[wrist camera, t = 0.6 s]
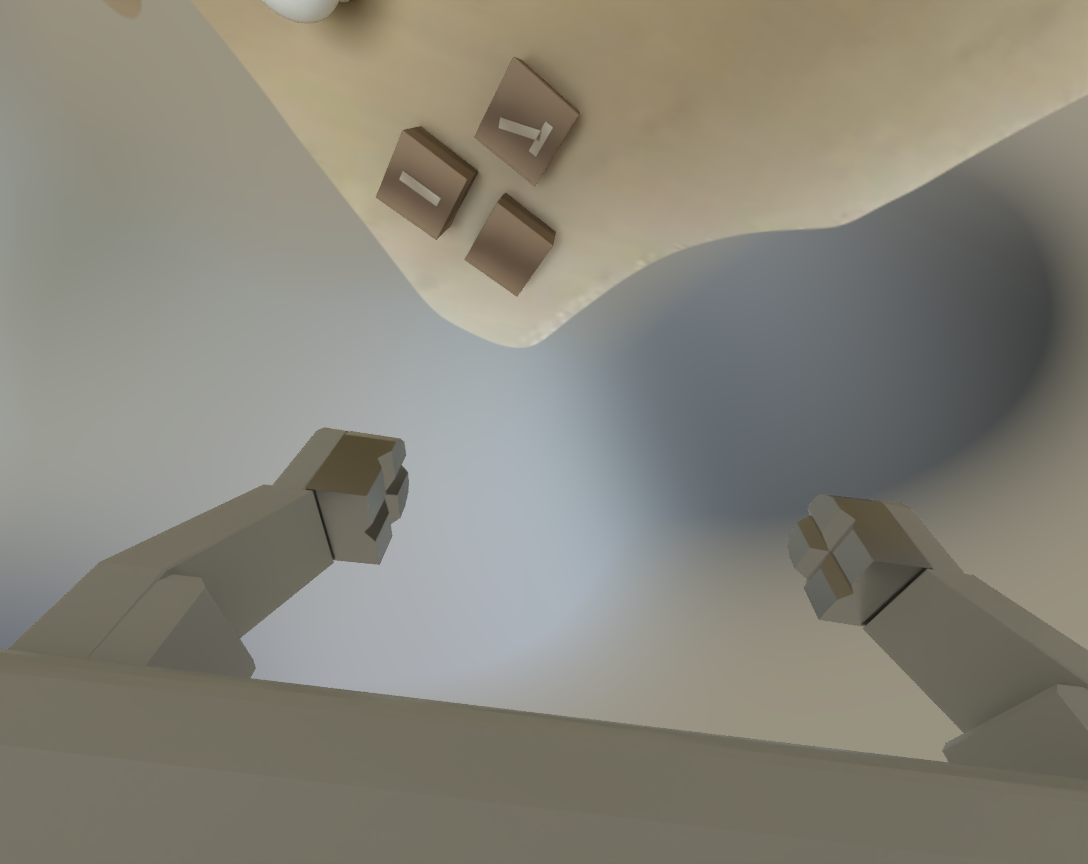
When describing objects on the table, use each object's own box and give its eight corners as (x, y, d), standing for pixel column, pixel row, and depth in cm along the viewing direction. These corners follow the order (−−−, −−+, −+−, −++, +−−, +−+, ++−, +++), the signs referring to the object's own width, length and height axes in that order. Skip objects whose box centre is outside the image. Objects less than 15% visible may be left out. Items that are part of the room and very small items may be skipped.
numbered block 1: (421, 126, 39) (402, 130, 35) (478, 170, 41) (466, 179, 37) (395, 187, 42) (375, 197, 38) (449, 226, 44) (435, 240, 40)
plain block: (505, 192, 42) (497, 202, 38) (555, 231, 44) (552, 245, 40) (475, 245, 45) (464, 259, 41) (522, 279, 47) (517, 296, 43)
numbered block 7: (521, 60, 36) (513, 56, 32) (579, 112, 38) (578, 114, 34) (485, 132, 39) (473, 137, 35) (540, 176, 41) (535, 186, 37)
